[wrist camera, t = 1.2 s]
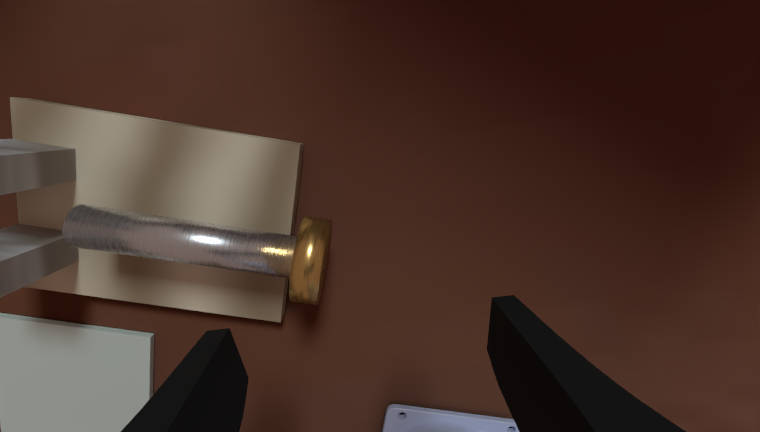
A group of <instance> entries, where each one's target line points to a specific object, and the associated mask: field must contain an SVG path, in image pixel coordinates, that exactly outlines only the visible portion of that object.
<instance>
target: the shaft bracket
mask: <svg viewBox="0 0 760 432" xmlns="http://www.w3.org/2000/svg"><path fill="white" fill-rule="evenodd" d="M10 105H11V120H12V134H13V139H0V195H4V194H9V193H14V192H17V205H18V220H19V224H16V225H13V226H9V227H6V228H2V229H0V298H1V297H3V296H5V295H7V294H9V293H11V292H13V291H15V290H18V289H20V288H22V287H28V288H36V289H43V290H50V291H57V292H64V293H72V294H79V295H86V296H93V297H100V298H108V299H115V300H122V301H129V302H136V303H144V304H151V305H158V306H165V307H172V308H180V309H187V310H194V311H201V312H208V313H216V314H223V315H230V316H237V317H244V318H252V319H259V320H266V321H273V322H281V320H282V318H283V316H284V314H285V306H286V297H287V288H288V280H289V279H288V278H281V277H274V276H267V275H261V274H254V273H247V272H240V271H233V270H226V269H219V268H212V267H205V266H198V265H192V264H185V263H178V262H171V261H164V260H157V259H150V258H143V257H136V256H130V255H123V254H116V253H109V252H102V251H95V250H88V249H81V248H74V247H71V246H69V245H68V244H67V243H66V242H65V240H64V238H63V233H62V229H63V223H64V220H65V218H66V216H67V214H68V213H69V211H70V210H71V209H72V208H74V207H75V206H77V205H80V204H87V205H94V206H100V207H107V208H113V209H120V210H127V211H133V212H140V213H147V214H153V215H160V216H166V217H173V218H180V219H186V220H193V221H199V222H206V223H213V224H219V225H226V226H233V227H239V228H246V229H252V230H259V231H266V232H272V233H279V234H285V235H292V236H293V235H294V227H295V218H296V209H297V200H298V191H299V182H300V174H301V165H302V156H303V147H304V144H303V143H297V142H291V141H285V140H279V139H273V138H267V137H261V136H255V135H249V134H242V133H236V132H230V131H224V130H218V129H212V128H206V127H200V126H194V125H188V124H182V123H176V122H169V121H163V120H157V119H151V118H145V117H139V116H133V115H127V114H121V113H115V112H109V111H103V110H96V109H90V108H84V107H78V106H72V105H66V104H60V103H54V102H48V101H42V100H36V99H30V98H16V97H10Z"/></svg>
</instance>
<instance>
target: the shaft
mask: <svg viewBox="0 0 760 432" xmlns="http://www.w3.org/2000/svg"><path fill="white" fill-rule="evenodd" d="M62 233H63V238H64V240H65V242H66V243H67V244H68V245H69V246H71V247H74V248H81V249H88V250H95V251H102V252H109V253H116V254H123V255H130V256H136V257H143V258H150V259H157V260H164V261H171V262H178V263H185V264H192V265H198V266H205V267H212V268H219V269H226V270H233V271H240V272H247V273H254V274H261V275H267V276H274V277H281V278H288V279H290V281H289V299H290V301H291V302H298V303H305V304H312V305H318V303H319V301H320V297H321V293H322V289H323V284H324V279H325V274H326V269H327V263H328V257H329V250H330V243H331V234H332V220H328V219H322V218H315V217H309V216H305V217H304V219H303V221H302V223H301V226H300V229H299V232H298V235H297V236H292V235H285V234H279V233H272V232H266V231H259V230H252V229H246V228H239V227H233V226H226V225H219V224H213V223H206V222H199V221H193V220H186V219H180V218H173V217H166V216H160V215H153V214H147V213H140V212H133V211H127V210H120V209H113V208H107V207H100V206H94V205H87V204H80V205H77V206H75V207H74V208H72V209H71V210H70V211H69V213H68V214H67V216H66V218H65V220H64V223H63V229H62Z"/></svg>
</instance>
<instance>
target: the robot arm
mask: <svg viewBox="0 0 760 432" xmlns="http://www.w3.org/2000/svg"><path fill="white" fill-rule="evenodd" d="M487 351H488V354H489V357H490V360H491V364H492V367H493V370H494V373H495V376H496V379H497V382H498V385H499V387H500V390H501V392H502V394H503V396H504V399H505V401H506V403H507V405H508V408H509V410H510V412H511V414H512V417H513V419H507V418H499V417H491V416H484V415H476V414H468V413H460V412H453V411H445V410H437V409H430V408H422V407H414V406H406V405H399V404H392V405H389V406H388V407H387V409H386V414H385V419H384V424H383V429H382V432H686V431H684V430H683V429H681V428H680V427H678V426H677V425H675V424H674V423H672V422H671V421H669V420H668V419H666V418H665V417H663V416H662V415H660V414H659V413H657V412H656V411H654V410H653V409H652V408H650V407H649V406H647V405H646V404H644V403H643V402H641V401H640V400H639V399H637V398H636V397H634V396H633V395H632V394H630V393H629V392H627V391H626V390H625V389H623V388H622V387H621V386H619V385H618V384H617V383H616V382H614V381H613V380H612V379H610V378H609V377H608V376H607V375H605V374H604V373H603V372H601V371H600V370H599V369H598V368H596V367H595V366H594V365H593V364H591V363H590V362H589V361H588V360H587V359H585V358H584V357H583V356H582V355H581V354H579V353H578V352H577V351H576V350H575V349H574V348H572V347H571V346H570V345H569V344H568V343H566V342H565V341H564V340H563V339H562V338H561V337H560V336H558V335H557V334H556V333H555V332H554V331H553V330H552V329H550V328H549V327H548V326H547V325H546V324H545V323H544V322H543V321H542V320H541V319H539V318H538V317H537V316H536V315H535V314H534V313H533V312H532V311H531V310H530V309H528V308H527V307H526V306H525V305H524V304H523V303H522V302H521V301H520V300H519V299H517V298H516V297H515V296H514V295H511V296H502V297H494V298H492V303H491V313H490V323H489V333H488V344H487ZM247 385H248V376H247V373H246V370H245V368H244V365H243V363H242V360H241V357H240V355H239V352H238V349H237V347H236V344H235V342H234V339H233V336H232V334H231V331H230V328H229V329H220V330H212V331H206V333H205V334H204V335H203V336H202V337H201V338H200V340H199V341H198V342H197V343H196V344H195V346H194V347H193V348H192V349H191V350H190V352H189V353H188V354H187V355H186V356H185V358H184V359H183V360H182V361H181V363H180V364H179V365H178V366H177V367H176V369H175V370H174V371H173V372H172V373H171V375H170V376H169V377H168V378H167V379H166V381H165V382H164V383H163V384H162V385H161V386H160V388H159V389H158V390H157V391H156V392H155V393H154V395H153V396H152V397H151V398H150V399H149V401H148V402H147V403H146V404H145V405H144V406H143V407H142V409H141V410H140V411H139V412H138V413H137V414H136V415H135V416H134V418H133V419H132V420H131V421H130V422H129V423H128V424H127V425H126V426H125V427H124V428H123V430H122V431H121V432H239V430H240V426H241V422H242V418H243V412H244V406H245V400H246V393H247ZM402 412H403V413H405V414H403V415H400V414H399V413H402ZM512 426H513V427H512ZM509 427H512V428H509Z"/></svg>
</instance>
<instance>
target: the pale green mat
mask: <svg viewBox="0 0 760 432" xmlns="http://www.w3.org/2000/svg"><path fill="white" fill-rule="evenodd" d="M153 373H154V334H153V333H146V332H138V331H131V330H123V329H116V328H108V327H101V326H94V325H86V324H79V323H71V322H64V321H57V320H49V319H42V318H34V317H27V316H19V315H12V314H5V313H0V424H1V432H121V431H122V430H123V428H124V427H125V426H126V425H127V424H128V423H129V422H130V421H131V420H132V419H133V418H134V416H135V415H136V414H137V413H138V412H139V411H140V410H141V409H142V407H143V406H144V405H145V404H146V403H147V402H148V401H149V399H150V398H151V397H152V396H153Z"/></svg>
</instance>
